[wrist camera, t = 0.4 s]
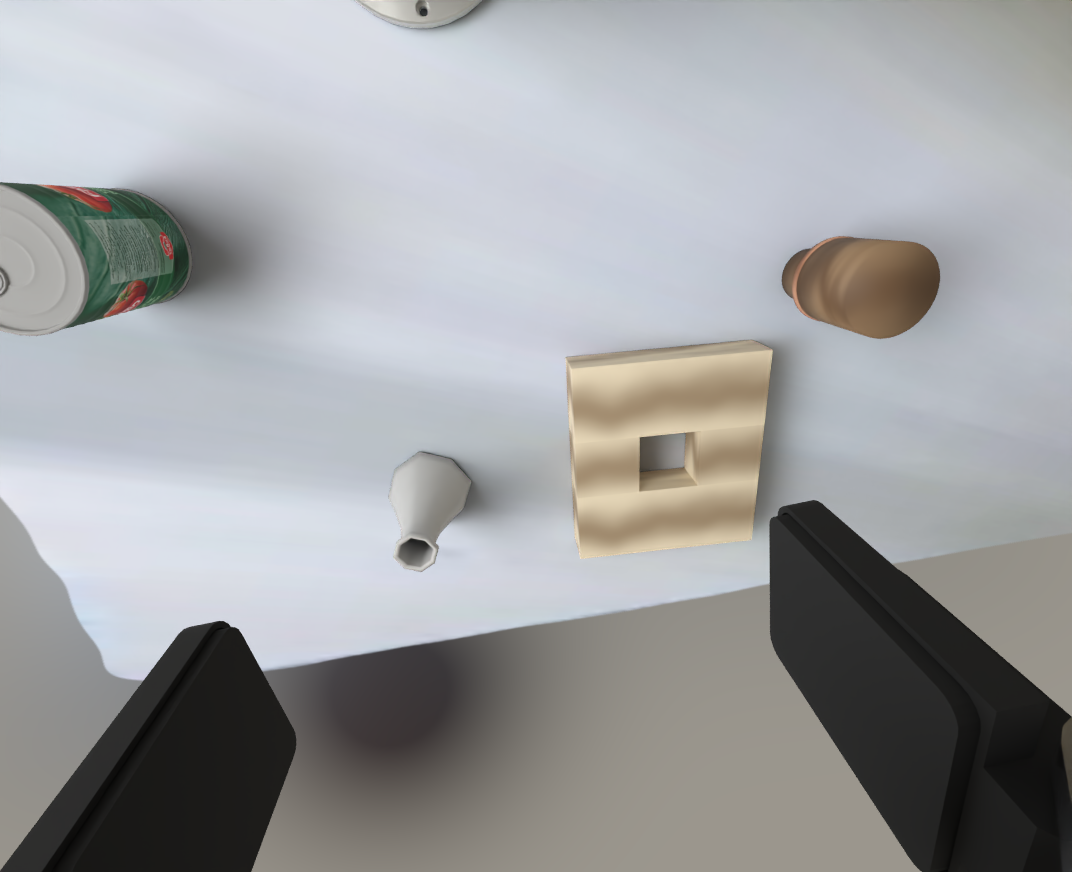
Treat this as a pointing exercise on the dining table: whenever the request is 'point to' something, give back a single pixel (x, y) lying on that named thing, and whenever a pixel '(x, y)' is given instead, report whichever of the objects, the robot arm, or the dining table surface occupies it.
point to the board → (659, 409)
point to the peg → (864, 284)
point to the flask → (425, 506)
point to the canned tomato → (84, 255)
